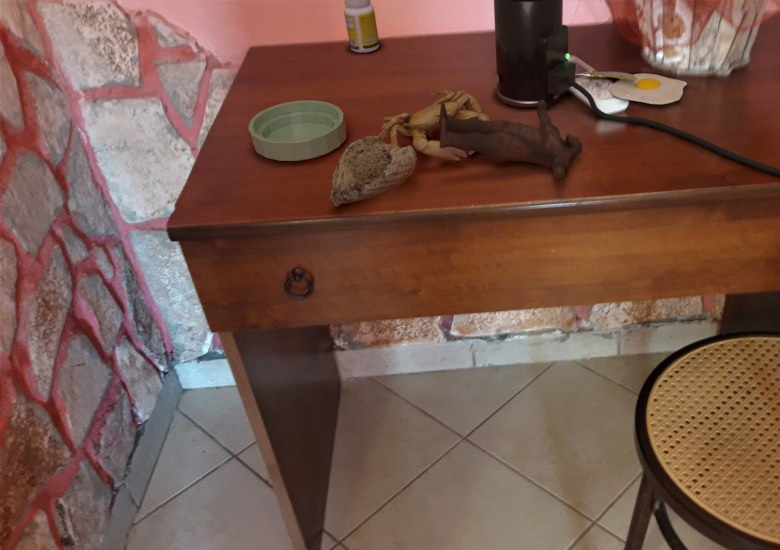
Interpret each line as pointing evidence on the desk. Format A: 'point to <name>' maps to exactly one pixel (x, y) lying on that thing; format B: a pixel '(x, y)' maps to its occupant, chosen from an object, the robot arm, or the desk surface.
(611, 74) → the decorative knife
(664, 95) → the cracked egg
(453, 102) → the crab model
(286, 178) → the desk surface
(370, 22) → the supplement bottle
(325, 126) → the dish
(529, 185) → the desk surface
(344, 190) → the seashell
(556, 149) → the figurine
